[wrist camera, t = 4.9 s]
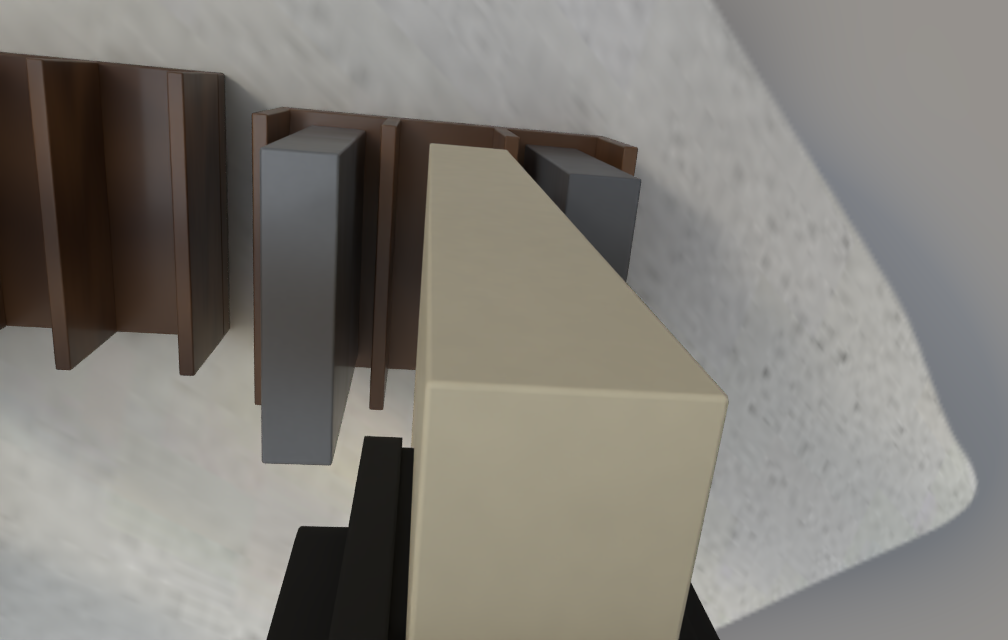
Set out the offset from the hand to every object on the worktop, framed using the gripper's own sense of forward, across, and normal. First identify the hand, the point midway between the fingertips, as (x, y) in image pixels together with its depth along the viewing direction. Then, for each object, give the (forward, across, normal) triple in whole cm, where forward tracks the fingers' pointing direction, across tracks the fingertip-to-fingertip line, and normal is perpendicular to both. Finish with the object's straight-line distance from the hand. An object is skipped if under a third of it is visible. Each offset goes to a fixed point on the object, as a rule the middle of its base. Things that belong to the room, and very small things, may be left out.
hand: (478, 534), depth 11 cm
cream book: (+10, 0, 0) cm, 10 cm away
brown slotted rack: (+20, 0, +1) cm, 20 cm away
